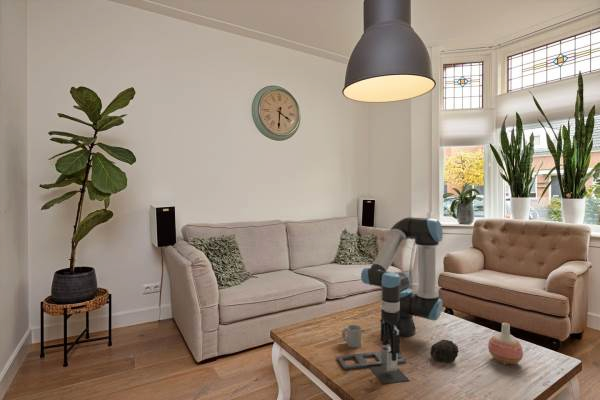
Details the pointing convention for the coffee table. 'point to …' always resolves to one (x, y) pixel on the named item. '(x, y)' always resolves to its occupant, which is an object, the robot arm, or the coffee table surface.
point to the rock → (444, 351)
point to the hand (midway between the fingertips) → (389, 363)
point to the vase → (505, 346)
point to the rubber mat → (389, 375)
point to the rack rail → (362, 361)
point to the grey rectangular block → (387, 359)
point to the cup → (352, 336)
